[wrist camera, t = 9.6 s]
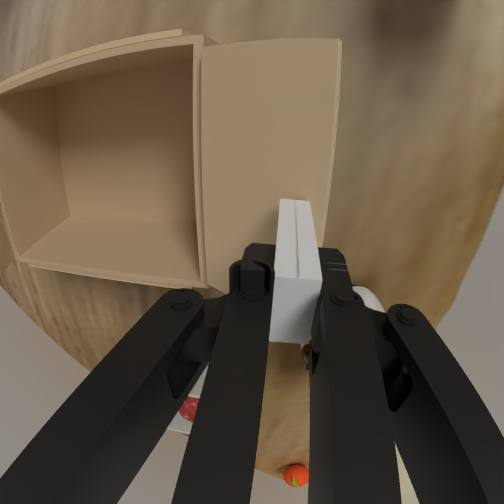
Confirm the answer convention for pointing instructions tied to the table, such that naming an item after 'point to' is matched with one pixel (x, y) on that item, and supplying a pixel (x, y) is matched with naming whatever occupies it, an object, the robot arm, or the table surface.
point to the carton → (108, 161)
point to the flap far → (4, 249)
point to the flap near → (264, 140)
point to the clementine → (296, 475)
